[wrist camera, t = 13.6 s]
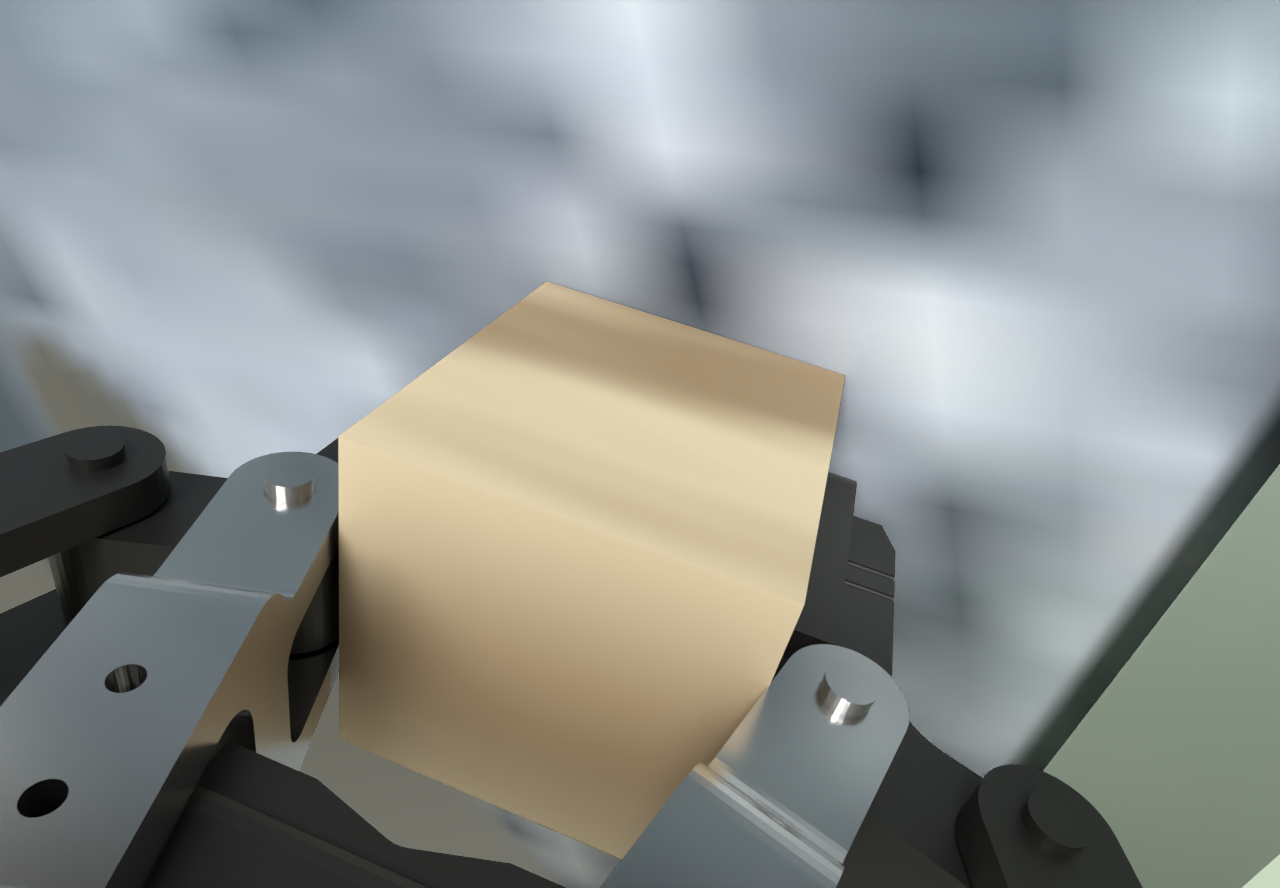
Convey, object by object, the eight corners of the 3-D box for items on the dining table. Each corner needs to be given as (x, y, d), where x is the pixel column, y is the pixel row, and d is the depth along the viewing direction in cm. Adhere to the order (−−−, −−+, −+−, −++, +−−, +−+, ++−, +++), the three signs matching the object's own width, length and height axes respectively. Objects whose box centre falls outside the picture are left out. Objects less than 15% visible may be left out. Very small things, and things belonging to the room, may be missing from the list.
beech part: (546, 281, 12) (337, 436, 7) (845, 375, 11) (804, 605, 7) (511, 519, 14) (339, 739, 10) (755, 608, 13) (683, 885, 9)
